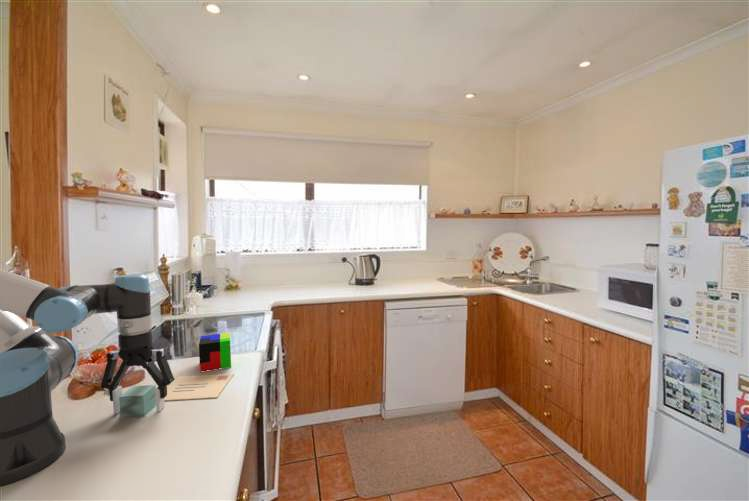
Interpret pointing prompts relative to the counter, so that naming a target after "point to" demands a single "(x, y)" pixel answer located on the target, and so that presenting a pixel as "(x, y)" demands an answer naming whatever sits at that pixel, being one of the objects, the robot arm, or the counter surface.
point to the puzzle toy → (214, 351)
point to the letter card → (197, 387)
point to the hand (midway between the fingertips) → (139, 410)
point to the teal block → (137, 401)
